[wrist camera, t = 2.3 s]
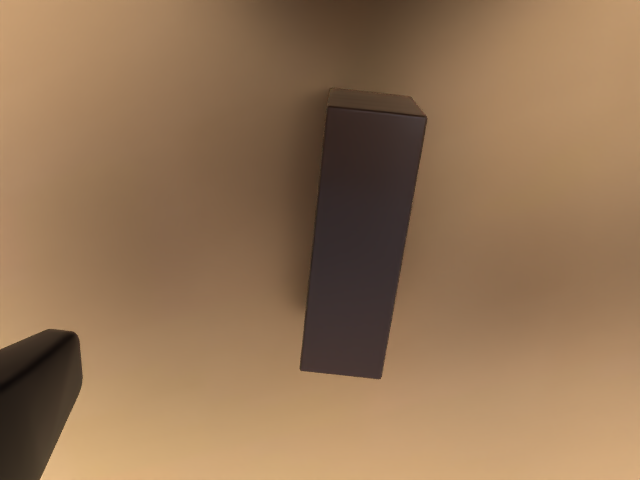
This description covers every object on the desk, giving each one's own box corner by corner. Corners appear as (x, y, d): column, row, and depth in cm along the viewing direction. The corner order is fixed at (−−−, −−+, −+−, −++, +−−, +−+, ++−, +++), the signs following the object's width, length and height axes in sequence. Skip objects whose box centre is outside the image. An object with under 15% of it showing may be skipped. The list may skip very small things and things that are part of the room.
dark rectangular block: (375, 320, 17) (381, 380, 14) (306, 313, 17) (299, 371, 14) (412, 96, 14) (428, 116, 12) (329, 87, 14) (326, 105, 12)
